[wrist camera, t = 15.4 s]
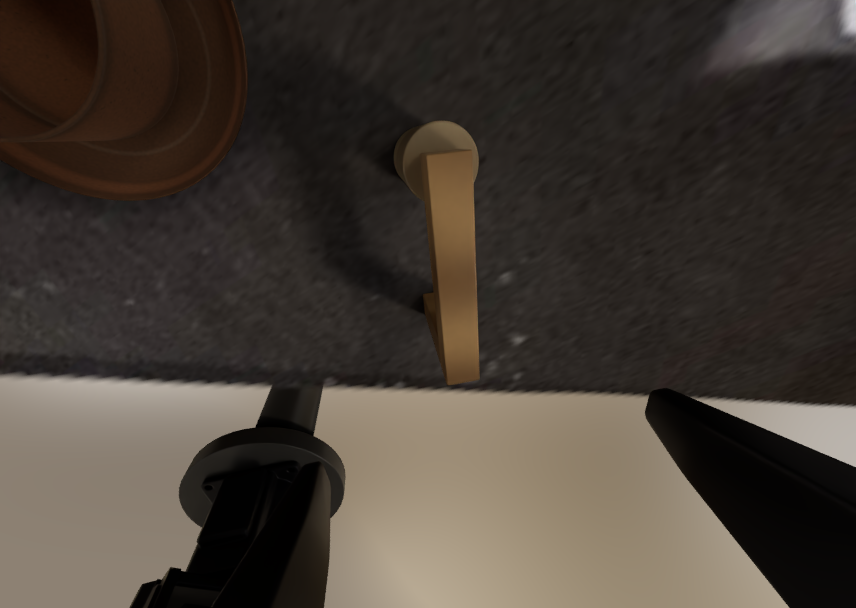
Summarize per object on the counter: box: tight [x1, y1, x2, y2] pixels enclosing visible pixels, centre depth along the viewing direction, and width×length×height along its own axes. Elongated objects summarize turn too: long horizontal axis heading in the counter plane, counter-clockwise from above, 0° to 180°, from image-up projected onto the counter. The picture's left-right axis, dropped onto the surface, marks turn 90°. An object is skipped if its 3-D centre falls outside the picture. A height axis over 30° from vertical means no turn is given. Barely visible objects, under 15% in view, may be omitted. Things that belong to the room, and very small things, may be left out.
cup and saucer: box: [0, 0, 248, 201], centre depth 11 cm, size 12×12×6 cm
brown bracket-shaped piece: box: [394, 120, 479, 385], centre depth 16 cm, size 11×3×7 cm, turn 6°
